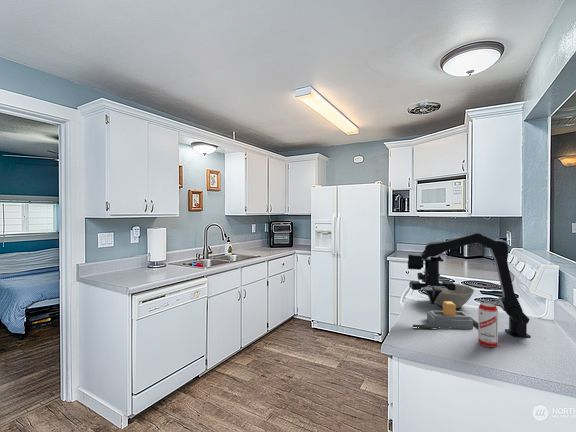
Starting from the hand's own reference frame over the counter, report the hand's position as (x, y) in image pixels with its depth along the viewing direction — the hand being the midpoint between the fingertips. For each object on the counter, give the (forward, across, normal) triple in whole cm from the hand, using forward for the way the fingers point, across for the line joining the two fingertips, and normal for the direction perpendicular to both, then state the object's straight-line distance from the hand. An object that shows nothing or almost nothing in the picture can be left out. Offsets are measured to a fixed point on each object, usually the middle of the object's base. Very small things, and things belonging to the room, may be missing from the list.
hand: (432, 304), depth 137 cm
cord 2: (+9, -18, 0) cm, 20 cm away
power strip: (+9, -7, 0) cm, 12 cm away
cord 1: (+9, +5, +6) cm, 12 cm away
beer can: (+9, -14, +20) cm, 26 cm away
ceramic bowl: (+9, -17, -24) cm, 31 cm away
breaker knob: (+5, -7, 0) cm, 9 cm away
